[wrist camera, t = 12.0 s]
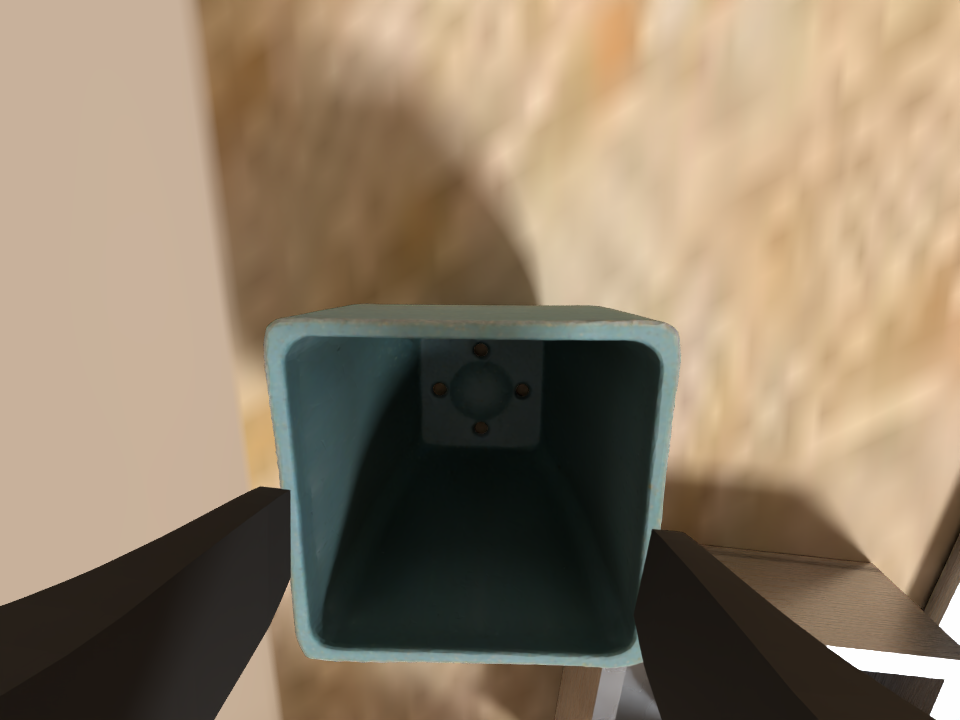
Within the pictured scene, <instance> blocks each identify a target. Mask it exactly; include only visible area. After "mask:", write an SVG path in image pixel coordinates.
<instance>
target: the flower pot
mask: <svg viewBox="0 0 960 720" xmlns="http://www.w3.org/2000/svg"><path fill="white" fill-rule="evenodd" d="M478 344H484V345H486V346H487V348H488V352H487V354H486V355H485V356H478V355H477V354H476V353H475V352H474V348H475V346H476V345H478ZM263 345H264V361H265V371H266V379H267V385H268V394H269V404H270V409H271V419H272V423H273V431H274V437H275V445H276V455H277V458H278V460H277V464H278V468H279V479H280V487H281V489H288V490H291V582H290V585H291V592H292V602H293V614H294V624H295V633H296V637H297V640H298V643H299V645H300V647H301V649H302V651H303V653H304V654H305V656H306V657H308V658H310V659H320V660H327V661H335V662H339V661H351V662H354V661H357V662H362V663H365V662H380V663H387V662H434V663H480V664H529V665H532V664H538V665H563V666H584V667H600V668H618V667H626V666H631V665H636V664H639V663H642V662H643V659H642V654H641V650H640V645H639V640H638V635H637V630H636V625H635V620H634V610H635V606H636V601H637V596H638V592H639V587H640V582H641V578H642V573H643V568H644V564H645V559H646V554H647V550H648V545H649V540H650V536H651V531H652V529H659V530H661V522H662V514H663V500H664V490H665V482H666V470H667V460H668V453H669V447H670V438H671V429H672V419H673V411H674V407H675V395H676V391H677V386H678V378H679V370H680V363H681V353H680V339H679V334H678V331H677V330H676V329H675V328H674V327H673V326H671V325H669V324H667V323H665V322H661V321H657V320H653V319H649V318H645V317H642V316H638V315H634V314H630V313H626V312H622V311H618V310H614V309H610V308H605V307H600V306H580V305H574V306H529V305H408V304H354V305H348V306H343V307H337V308H332V309H326V310H320V311H316V312H311V313H306V314H301V315H296V316H290V317H285V318H280V319H276V320H275V321H273V322H271V323H270V324H269V325H268V326H267V328H266V332H265V337H264V344H263ZM437 383H443V384H444V385H445V386H446V388H447V391H446V393H445V394H444V395H437V394H435V393H434V391H433V387H434V385H435V384H437ZM520 384H525V385H527V386H528V388H529V392H528V394H527V395H526V396H520V395H518V394H517V392H516V388H517V386H518V385H520ZM478 422H484V423H485V424H486V425H487V427H488V430H487V431H486V432H485V433H483V434H480V433H478V432H476V431H475V428H474V427H475V425H476V423H478Z"/></svg>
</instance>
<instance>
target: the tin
mask: <svg viewBox="0 0 960 720" xmlns="http://www.w3.org/2000/svg"><path fill="white" fill-rule="evenodd" d="M701 546H702V547H703V548H705V549H706V550H707V551H708V552H709V553H711V554H712V555H713V556H714V557H715V558H717V559H718V560H719V561H720V562H721V563H723V564H724V565H725V566H726V567H727V568H729V569H730V570H731V571H732V572H733V573H734V574H736V575H737V576H738V577H739V578H740V579H742V580H743V581H744V582H745V583H746V584H748V585H749V586H750V587H751V588H752V589H754V590H755V591H756V592H757V593H759V594H760V595H761V596H762V597H763V598H765V599H766V600H767V601H768V602H770V603H771V604H772V605H773V606H775V607H776V608H777V609H778V610H780V611H781V612H782V613H783V614H785V615H786V616H787V617H789V618H790V619H791V620H792V621H794V622H795V623H796V624H798V625H799V626H800V627H802V628H803V629H804V630H806V631H807V632H808V633H810V634H811V635H812V636H814V637H815V638H816V639H818V640H819V641H820V642H822V643H823V644H824V645H826V646H827V647H828V648H830V649H831V650H832V651H834V652H835V653H836V654H838V655H839V656H841V657H842V658H844V659H845V660H846V661H848V662H849V663H851V664H852V665H853V666H855V667H856V668H858V669H859V670H861V671H862V672H864V673H865V674H867V675H868V676H870V677H871V678H873V679H874V680H876V681H877V682H879V683H880V684H882V685H883V686H885V687H886V688H888V689H889V690H891V691H892V692H894V693H895V694H897V695H898V696H900V697H901V698H903V699H904V700H906V701H908V702H909V703H911V704H912V705H914V706H916V707H917V708H919V709H920V710H922V711H924V712H925V713H927V714H928V715H930V716H932V717H933V718H935V719H937V720H953V718H954V716H955V714H956V712H957V709H958V707H959V705H960V645H959V644H958V643H957V642H956V641H955V640H954V639H953V638H952V637H950V636H949V635H948V634H947V633H946V632H945V631H944V630H943V629H942V628H941V627H940V626H939V625H938V624H937V623H935V622H934V621H933V620H932V619H931V618H930V617H929V616H928V615H927V614H926V613H925V612H924V611H923V610H922V609H921V608H919V607H918V606H917V605H916V604H915V603H914V602H913V601H912V600H911V599H910V598H909V597H908V596H907V595H906V594H904V593H903V592H902V591H901V590H900V589H899V588H898V587H897V586H896V585H895V584H894V583H893V582H892V581H891V580H890V579H888V578H887V577H886V576H885V575H884V574H883V573H882V572H881V571H880V570H879V569H878V568H877V567H876V566H875V565H873V564H872V563H865V562H855V561H846V560H837V559H828V558H818V557H809V556H800V555H791V554H781V553H772V552H763V551H754V550H744V549H735V548H726V547H717V546H707V545H701ZM554 720H662V719H661V716H660V713H659V711H658V707H657V704H656V701H655V698H654V695H653V692H652V689H651V686H650V683H649V680H648V677H647V674H646V671H645V668H644V664H643V662H642V663H639V664H636V665H631V666H626V667H618V668H600V667H584V666H564V668H563V674H562V679H561V685H560V691H559V696H558V702H557V708H556V713H555V719H554Z"/></svg>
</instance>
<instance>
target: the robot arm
mask: <svg viewBox="0 0 960 720" xmlns="http://www.w3.org/2000/svg"><path fill="white" fill-rule="evenodd" d="M290 578H291V490H288V489H279V488H270V487H258V488H256V489H253V490H251V491H249V492H247V493H245V494H243V495H241V496H239V497H237V498H235V499H233V500H231V501H229V502H228V503H225V504H224V505H222V506H220V507H218V508H216V509H214V510H212V511H210V512H209V513H207V514H205V515H203V516H201V517H199V518H197V519H195V520H193V521H191V522H189V523H188V524H186V525H184V526H182V527H180V528H178V529H176V530H174V531H172V532H170V533H168V534H166V535H164V536H163V537H161V538H158V539H156V540H154V541H152V542H150V543H148V544H146V545H144V546H142V547H140V548H138V549H136V550H133V551H131V552H129V553H127V554H125V555H123V556H121V557H119V558H117V559H115V560H112V561H110V562H108V563H106V564H104V565H102V566H100V567H97V568H95V569H93V570H91V571H88V572H86V573H84V574H81V575H79V576H77V577H74V578H72V579H69V580H67V581H65V582H62V583H60V584H57V585H55V586H52V587H49V588H47V589H45V590H42V591H39V592H37V593H35V594H32V595H29V596H27V597H24V598H22V599H19V600H16V601H13V602H11V603H8V604H5V605H2V606H0V720H214V719H215V717H216V716H217V714H218V712H219V711H220V709H221V707H222V705H223V704H224V702H225V701H226V699H227V697H228V695H229V694H230V692H231V691H232V689H233V687H234V686H235V684H236V682H237V681H238V679H239V677H240V675H241V674H242V672H243V670H244V669H245V667H246V665H247V664H248V662H249V660H250V658H251V657H252V655H253V653H254V652H255V650H256V648H257V647H258V645H259V643H260V641H261V640H262V638H263V636H264V635H265V633H266V631H267V629H268V628H269V626H270V624H271V622H272V619H273V617H274V615H275V613H276V611H277V608H278V606H279V604H280V602H281V599H282V597H283V594H284V592H285V590H286V587H287V585H288V583H289V580H290ZM634 620H635V625H636V630H637V635H638V640H639V645H640V650H641V654H642V659H643V664H644V668H645V671H646V674H647V677H648V680H649V683H650V686H651V689H652V692H653V695H654V698H655V701H656V704H657V707H658V711H659V713H660V716H661V719H662V720H937V719H935V718H933V717H932V716H930V715H928V714H927V713H925V712H924V711H922V710H920V709H919V708H917V707H916V706H914V705H912V704H911V703H909V702H908V701H906V700H904V699H903V698H901V697H900V696H898V695H897V694H895V693H894V692H892V691H891V690H889V689H888V688H886V687H885V686H883V685H882V684H880V683H879V682H877V681H876V680H874V679H873V678H871V677H870V676H868V675H867V674H865V673H864V672H862V671H861V670H859V669H858V668H856V667H855V666H853V665H852V664H851V663H849V662H848V661H846V660H845V659H844V658H842V657H841V656H839V655H838V654H836V653H835V652H834V651H832V650H831V649H830V648H828V647H827V646H826V645H824V644H823V643H822V642H820V641H819V640H818V639H816V638H815V637H814V636H812V635H811V634H810V633H808V632H807V631H806V630H804V629H803V628H802V627H800V626H799V625H798V624H796V623H795V622H794V621H792V620H791V619H790V618H789V617H787V616H786V615H785V614H783V613H782V612H781V611H780V610H778V609H777V608H776V607H775V606H773V605H772V604H771V603H770V602H768V601H767V600H766V599H765V598H763V597H762V596H761V595H760V594H759V593H757V592H756V591H755V590H754V589H752V588H751V587H750V586H749V585H748V584H746V583H745V582H744V581H743V580H742V579H740V578H739V577H738V576H737V575H736V574H734V573H733V572H732V571H731V570H730V569H729V568H727V567H726V566H725V565H724V564H723V563H721V562H720V561H719V560H718V559H717V558H715V557H714V556H713V555H712V554H711V553H709V552H708V551H707V550H706V549H705V548H703V547H702V546H701V545H700V544H698V543H697V542H696V541H695V540H693V539H692V538H691V537H689V536H688V535H686V534H685V533H684V532H677V531H668V530H659V529H652V531H651V536H650V540H649V545H648V550H647V554H646V559H645V564H644V568H643V573H642V578H641V582H640V587H639V592H638V596H637V601H636V606H635V610H634Z"/></svg>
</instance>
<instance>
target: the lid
mask: <svg viewBox="0 0 960 720" xmlns="http://www.w3.org/2000/svg"><path fill="white" fill-rule="evenodd" d="M924 612H925V613H926V614H927V615H928V616H929V617H930V618H931V619H932V620H933V621H934V622H935V623H937V624H938V625H939V626H940V627H941V628H942V629H943V630H944V631H945V632H946V633H947V634H948V635H949V636H950V637H952V638H953V639H954V640H955V641H956V642H957V643H958V644H959V645H960V534H959V537H958V539H957V541H956V543H955V545H954V547H953V550H952V552H951V554H950V556H949V558H948V560H947V562H946V565H945V567H944V569H943V571H942V573H941V575H940V578H939V580H938V582H937V584H936V586H935V588H934V590H933V593H932V595H931V597H930V599H929V601H928V603H927V606H926V608H925V610H924ZM953 720H960V705H959V707H958V709H957V712H956V714H955V716H954V718H953Z"/></svg>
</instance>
